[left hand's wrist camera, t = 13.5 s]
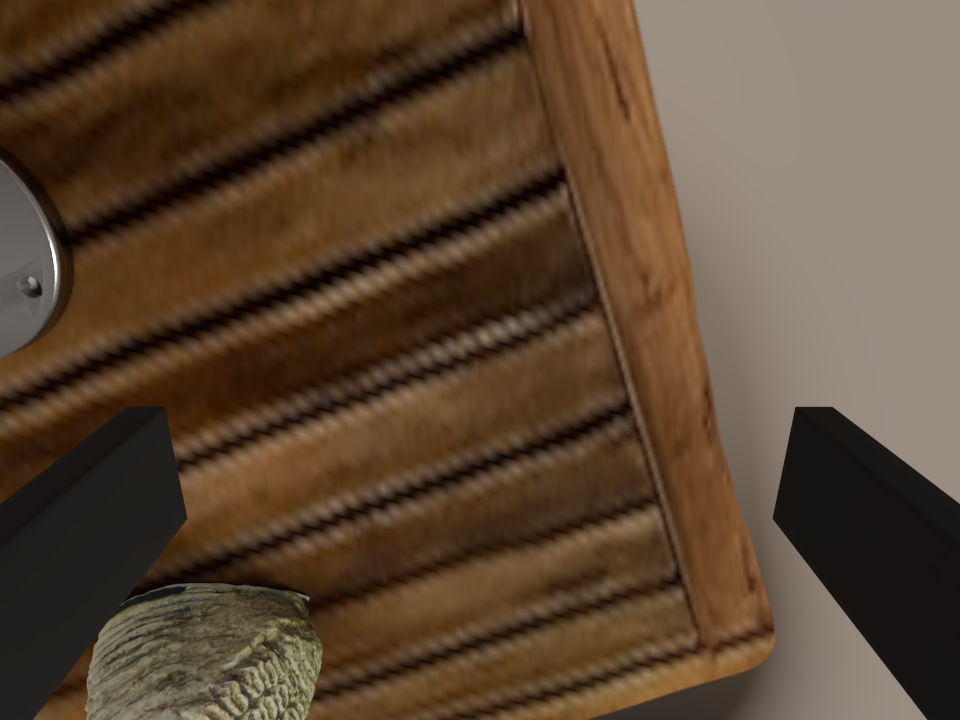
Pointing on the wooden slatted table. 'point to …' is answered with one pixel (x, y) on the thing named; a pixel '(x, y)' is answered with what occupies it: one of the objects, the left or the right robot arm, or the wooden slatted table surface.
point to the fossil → (206, 656)
